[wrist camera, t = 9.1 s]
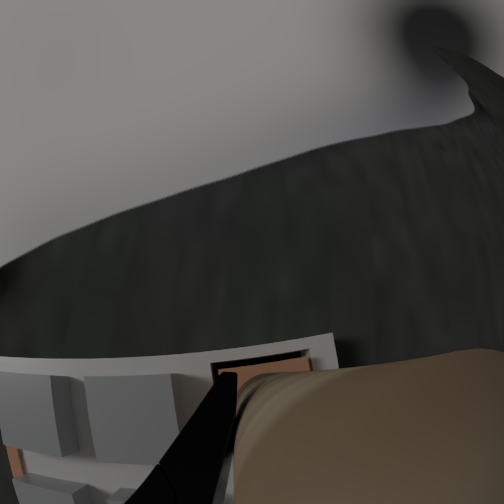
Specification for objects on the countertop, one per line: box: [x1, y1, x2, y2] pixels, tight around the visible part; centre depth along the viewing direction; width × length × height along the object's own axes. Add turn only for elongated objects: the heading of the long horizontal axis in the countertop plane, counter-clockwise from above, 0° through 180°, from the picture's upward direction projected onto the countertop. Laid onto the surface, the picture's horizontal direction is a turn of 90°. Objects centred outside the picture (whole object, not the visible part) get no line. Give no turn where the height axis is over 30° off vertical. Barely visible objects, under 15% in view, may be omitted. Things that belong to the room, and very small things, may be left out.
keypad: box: [0, 333, 339, 504], centre depth 13 cm, size 13×21×5 cm, turn 98°
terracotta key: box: [218, 356, 310, 392], centre depth 15 cm, size 4×4×3 cm
